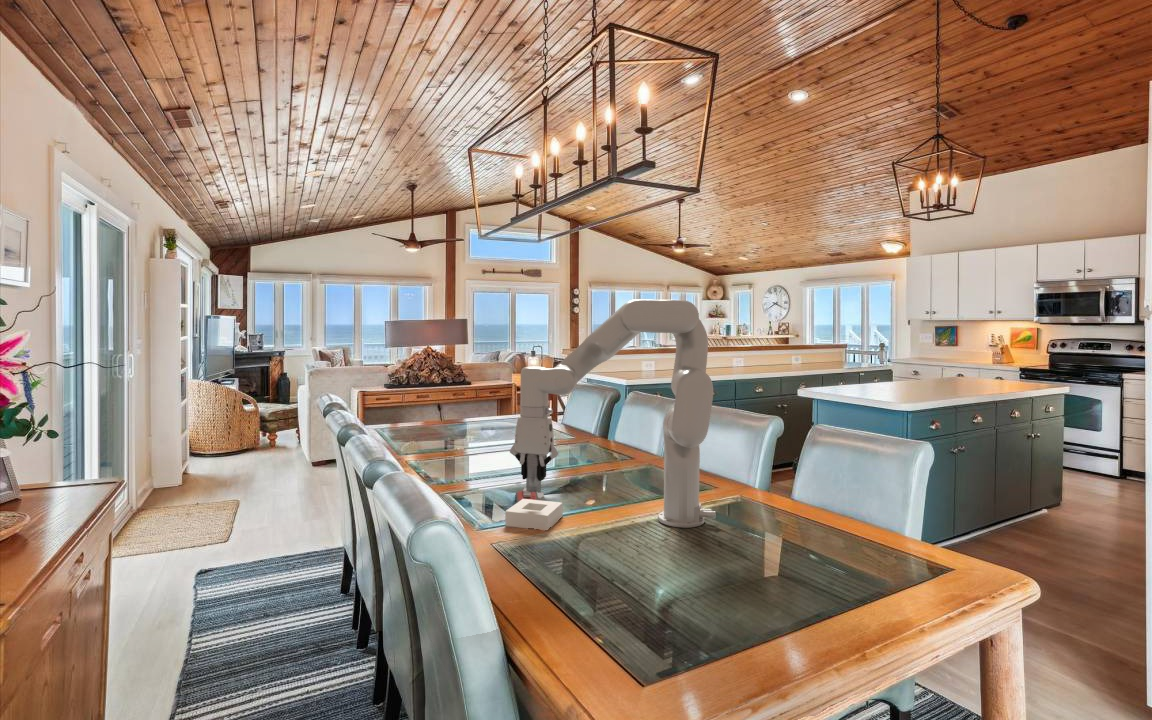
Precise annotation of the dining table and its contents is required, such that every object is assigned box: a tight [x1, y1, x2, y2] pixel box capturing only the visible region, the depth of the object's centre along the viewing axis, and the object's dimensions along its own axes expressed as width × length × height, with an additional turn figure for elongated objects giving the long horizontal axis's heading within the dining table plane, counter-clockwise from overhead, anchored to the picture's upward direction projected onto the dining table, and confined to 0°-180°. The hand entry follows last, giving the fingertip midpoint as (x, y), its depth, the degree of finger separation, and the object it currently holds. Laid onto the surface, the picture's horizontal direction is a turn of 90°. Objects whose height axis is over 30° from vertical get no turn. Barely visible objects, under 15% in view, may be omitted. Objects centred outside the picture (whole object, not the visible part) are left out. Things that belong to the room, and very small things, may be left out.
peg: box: [525, 454, 542, 493], centre depth 163 cm, size 4×4×12 cm
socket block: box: [504, 499, 564, 531], centre depth 163 cm, size 12×12×4 cm
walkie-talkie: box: [514, 487, 545, 504], centre depth 182 cm, size 9×4×20 cm
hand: (533, 478), depth 163 cm, fingers closed on peg, 4 cm apart
